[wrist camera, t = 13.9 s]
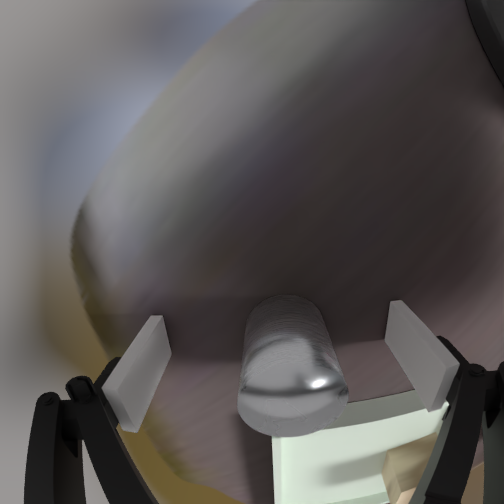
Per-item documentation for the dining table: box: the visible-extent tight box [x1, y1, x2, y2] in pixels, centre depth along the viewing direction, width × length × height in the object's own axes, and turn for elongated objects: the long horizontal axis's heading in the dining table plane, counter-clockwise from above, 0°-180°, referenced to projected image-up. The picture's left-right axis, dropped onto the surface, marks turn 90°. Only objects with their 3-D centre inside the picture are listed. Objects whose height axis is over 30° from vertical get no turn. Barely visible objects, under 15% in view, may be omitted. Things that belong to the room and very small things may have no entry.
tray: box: [272, 390, 449, 504], centre depth 19 cm, size 19×17×2 cm
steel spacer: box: [237, 294, 349, 437], centre depth 13 cm, size 4×4×6 cm
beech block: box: [381, 432, 438, 504], centre depth 16 cm, size 5×5×5 cm
